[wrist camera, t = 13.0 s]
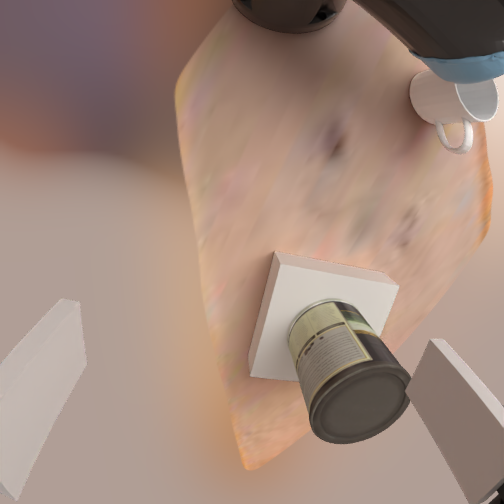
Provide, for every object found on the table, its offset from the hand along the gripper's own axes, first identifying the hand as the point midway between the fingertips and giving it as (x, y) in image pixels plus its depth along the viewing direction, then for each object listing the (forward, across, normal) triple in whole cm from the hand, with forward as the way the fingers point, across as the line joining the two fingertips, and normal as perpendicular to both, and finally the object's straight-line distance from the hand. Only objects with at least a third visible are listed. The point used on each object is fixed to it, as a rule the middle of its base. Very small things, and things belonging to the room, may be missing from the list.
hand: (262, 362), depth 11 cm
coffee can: (+24, +12, -13) cm, 30 cm away
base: (+29, +12, -13) cm, 34 cm away
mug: (+30, +23, +18) cm, 42 cm away
